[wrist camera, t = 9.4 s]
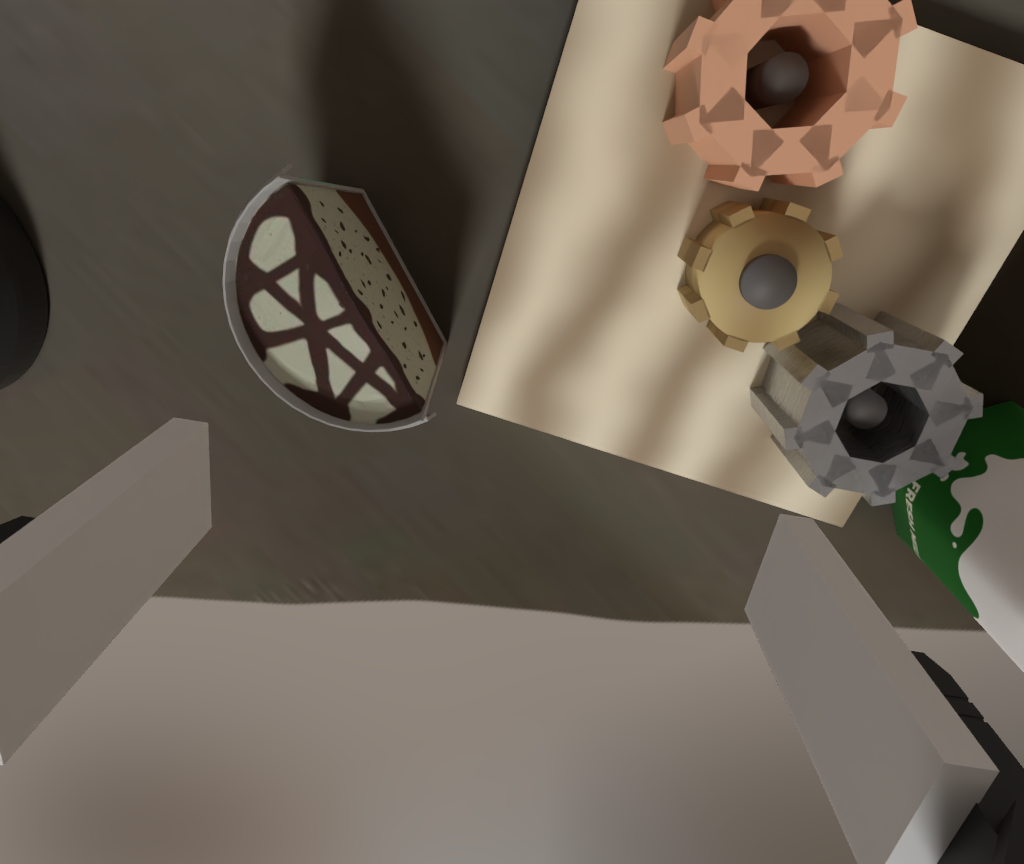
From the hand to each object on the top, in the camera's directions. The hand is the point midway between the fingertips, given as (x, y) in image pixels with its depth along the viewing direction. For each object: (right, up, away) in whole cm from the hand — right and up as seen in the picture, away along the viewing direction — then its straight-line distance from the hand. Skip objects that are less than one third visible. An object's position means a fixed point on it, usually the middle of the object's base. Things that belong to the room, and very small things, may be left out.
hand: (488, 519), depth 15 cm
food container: (-8, +10, +22) cm, 25 cm away
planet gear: (+12, +18, +15) cm, 26 cm away
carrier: (+12, +11, +20) cm, 26 cm away
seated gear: (+18, +5, +20) cm, 28 cm away
